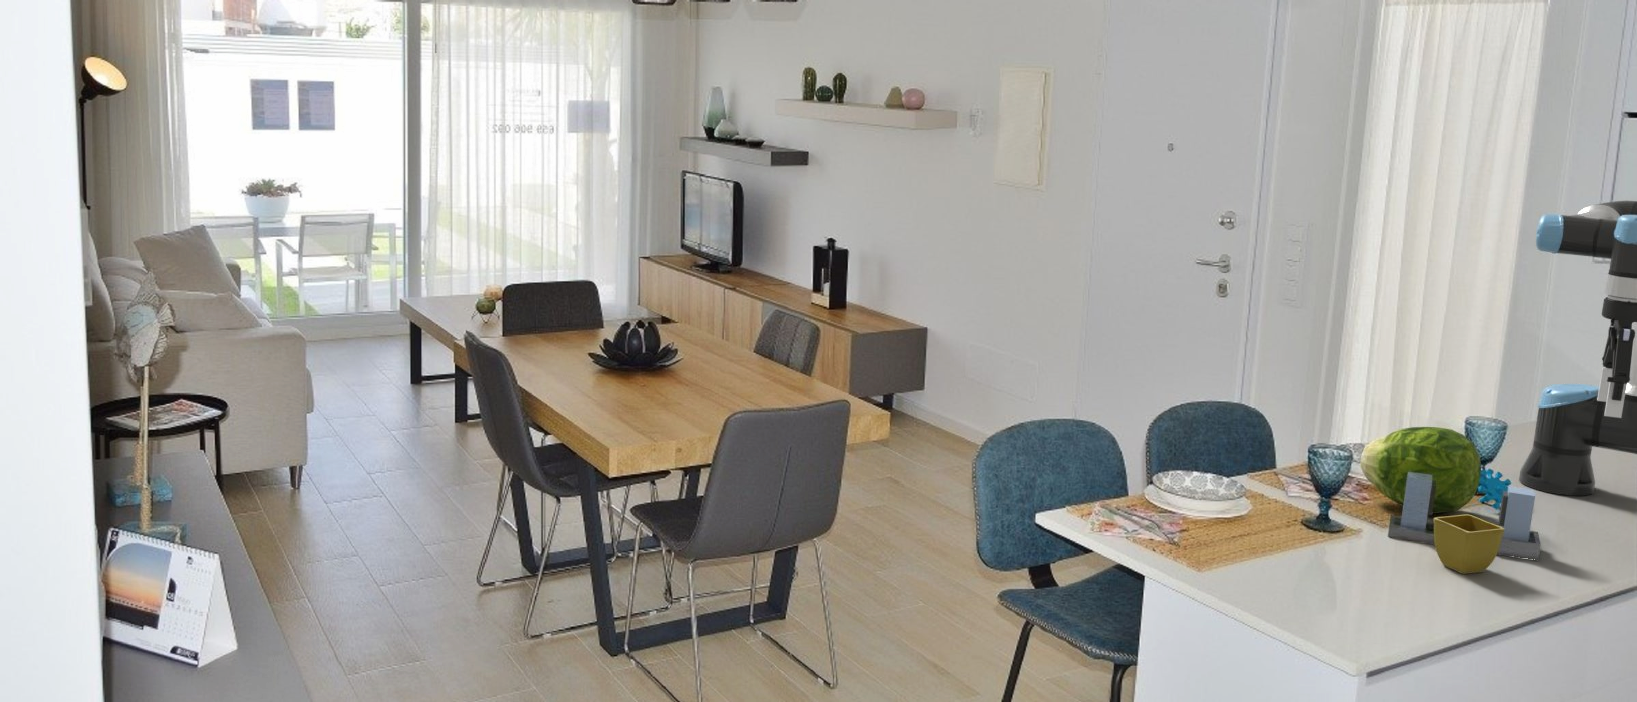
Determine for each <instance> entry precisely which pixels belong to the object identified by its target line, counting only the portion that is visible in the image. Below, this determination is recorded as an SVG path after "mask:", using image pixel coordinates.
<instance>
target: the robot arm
mask: <svg viewBox="0 0 1637 702" xmlns="http://www.w3.org/2000/svg"><path fill="white" fill-rule="evenodd" d="M1535 246H1536V249H1537V250H1539V251H1541V252H1545V253H1551V254H1559V255H1560V254H1561V255H1570V256H1571V255H1573V256H1581V257H1592V258H1596V259H1597V258H1599V259H1607V260H1610V263H1609V264H1610V265H1609V270H1608V273H1607V277H1606V283H1605V289H1604V294H1605V296H1606V297H1605V298H1604V299H1603V303H1602V310H1601V316H1602V317H1603V318H1605V319H1608V320H1610V324H1609V325H1610V326H1609V327H1608V333H1607V334H1608V335H1607V339H1606V343H1605V347H1604V352H1603V356H1602V358H1601V360H1602V369H1601V375H1600V380H1599V386H1598V385H1593V384H1587V383H1586V384H1584V383H1557V384H1552V385H1549V386H1547V387H1545V388H1544V389H1543V390H1542V392H1541V395H1540V399H1539V403H1538V405H1537V408H1538V412H1537V417H1536V423H1535V430H1534V437H1533V443H1532V448H1531V449H1530V450H1531V451H1530V452H1529V454H1528V455H1527V458H1526V460H1525V461H1524V463H1523V465H1522V466H1521V468H1520V471H1519V476H1518V481H1519V482H1520V483H1521V484H1522V485H1525V486H1527V487H1530V488H1531V489H1533V490H1539V491H1542V492H1545V493H1550V494H1556V495H1563V496H1564V495H1565V496H1589V495H1592V494H1594V493H1595V487H1596V480H1595V474H1594V468H1593V465H1592V464H1593V462H1592V457H1591V456H1592V450H1593V447H1595V448H1599V449H1605V450H1610V451H1616V452H1620V453H1621V452H1622V453H1627V454H1633V455H1637V200H1616V201H1609V202H1601V203H1596V204H1592V205H1589V206H1587V207H1584V208H1583V209H1581V210H1580V211H1579V212H1578V213H1576V214H1571V215H1566V214H1565V215H1564V214H1559V213H1556V214H1552V213H1549V214H1548V213H1545V214H1543V215H1541V217H1540V219H1539V221H1538V224H1537V228H1536V234H1535Z"/></svg>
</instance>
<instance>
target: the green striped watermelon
mask: <svg viewBox="0 0 1637 702" xmlns="http://www.w3.org/2000/svg"><path fill="white" fill-rule="evenodd" d="M1481 462H1482V461H1481V456H1480V454H1479V452H1478V450H1477V449H1476V447H1475V445H1474V443H1473V442H1472V441H1471V440H1470V439H1469V438H1467V436H1465V435H1464V434H1462V433H1460V432H1459V431H1458V432H1457V431H1456V430H1454V429H1451V428H1445V427H1438V426H1437V427H1434V426H1411V427H1406V428H1401V429H1398V430H1395V431H1392V432H1391V433H1389V434H1387V435H1385V436H1382V437H1378V438H1376V439H1374V440H1373V441H1370V442H1369V444H1367V445H1366V446H1365V447H1364V448H1363V450H1362V453H1361V457H1360V465H1359V466H1360V468H1361V469H1360V470H1361V471H1362V473H1363V475H1364V476H1365V478H1366V480H1367V481H1368V482H1370V483H1371V484H1372V485H1373V486H1375V487H1376V488H1377V490H1378V491H1379V492H1380V493H1381V494H1382V495H1383V496H1385V497H1386V498H1388V499H1389V500H1391V501H1392V502H1394V503H1396V504H1398V505H1401V506H1403V504H1404V497H1405V489H1406V482H1407V475H1408V472H1415V473H1422V474H1428V475H1432V481H1436V490H1435V497H1434V504H1433V511H1432V514H1433V513H1446V512H1447V513H1448V512H1454V511H1459V510H1461V509H1462V508H1463V507H1464V506H1466V505H1468V504H1469V503H1470V502H1471V501H1472V499H1473V498H1474V496H1475V494H1476V491H1477V490H1478V487H1479V486H1480V483H1479V482H1480V477H1481V471H1482V467H1481V466H1482V463H1481Z"/></svg>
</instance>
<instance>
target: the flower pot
mask: <svg viewBox="0 0 1637 702" xmlns="http://www.w3.org/2000/svg"><path fill="white" fill-rule="evenodd" d="M1433 522H1434V542H1435V544H1434V548H1435V551H1436V554H1437V556H1438V558H1439V561H1440V562H1441V564H1442V565H1443V566H1445V567H1447V568H1448V569H1452V570H1454V571H1456V572H1457V573H1460V574H1463V575H1465V574H1474V573H1482V572H1485V571H1486V569H1487V568H1489V567H1490V565H1491V564H1492V563H1493V562H1494V560H1495V559H1496V557H1497V553H1498V550H1499V547H1500V543H1501V540H1502V537H1503V533H1504V530H1505V529H1504V528H1502V527H1500V526H1499V525H1497V524H1495V523H1492V522H1489V521H1486V520H1484V519H1482V518H1479V517H1477V516H1474V515H1471V514H1466V513H1465V514H1457V515H1448V516H1437V517H1433Z"/></svg>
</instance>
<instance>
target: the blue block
mask: <svg viewBox="0 0 1637 702" xmlns="http://www.w3.org/2000/svg"><path fill="white" fill-rule="evenodd" d="M1507 487H1508V491H1503V494H1502V501H1501V503H1500V508H1499V509H1500V510H1499V515H1498V526H1502V528H1504V529H1505V530H1504V533H1503V537H1502V538H1506V539H1512V540H1518V541H1525V542H1528V539H1529V533H1530V531H1531V527H1532V526H1531V525H1532V520H1533V513H1534V508H1535V507H1534V506H1535V500H1536V493H1535V489H1533V488H1531V489H1529V488H1523V487H1517V486H1510V485H1509V486H1507Z"/></svg>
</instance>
